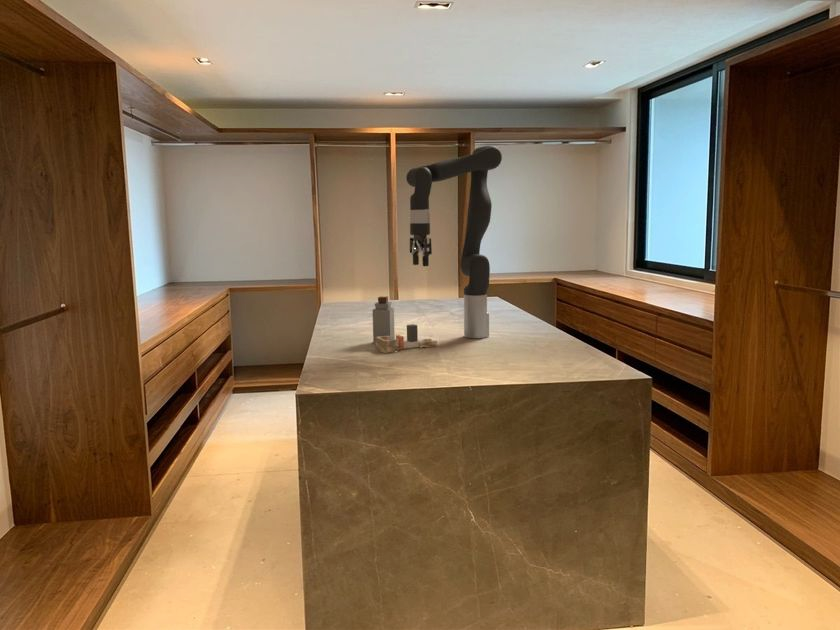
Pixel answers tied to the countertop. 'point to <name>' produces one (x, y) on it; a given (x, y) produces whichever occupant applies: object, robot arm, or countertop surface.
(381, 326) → the perfume bottle
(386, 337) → the box
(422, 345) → the rail guide
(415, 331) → the gray block
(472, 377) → the countertop surface
